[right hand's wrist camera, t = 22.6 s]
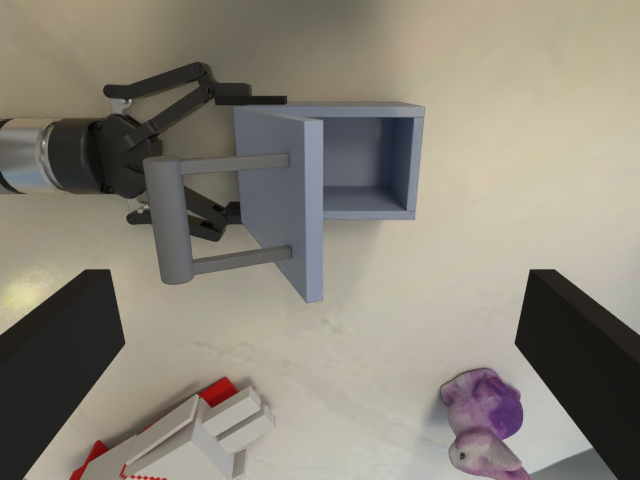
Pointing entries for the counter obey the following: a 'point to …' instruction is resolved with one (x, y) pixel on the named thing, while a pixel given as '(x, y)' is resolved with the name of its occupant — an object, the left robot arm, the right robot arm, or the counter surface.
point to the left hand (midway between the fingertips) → (287, 156)
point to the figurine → (484, 425)
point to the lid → (251, 201)
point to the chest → (366, 156)
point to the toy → (188, 441)
